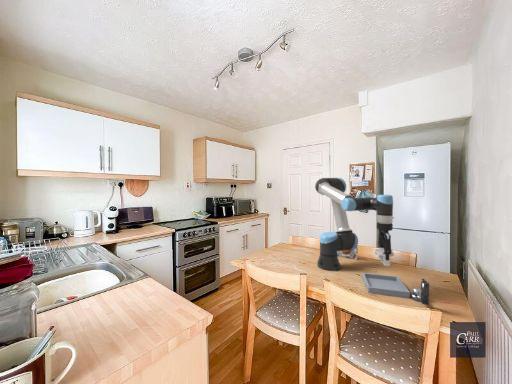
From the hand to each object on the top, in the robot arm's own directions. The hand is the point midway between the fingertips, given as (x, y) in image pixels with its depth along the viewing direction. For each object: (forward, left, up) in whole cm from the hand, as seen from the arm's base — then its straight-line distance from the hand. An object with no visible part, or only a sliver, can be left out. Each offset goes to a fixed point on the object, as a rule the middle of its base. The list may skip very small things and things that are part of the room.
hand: (384, 262), depth 120 cm
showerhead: (0, 0, 0) cm, 0 cm away
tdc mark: (+24, -9, -14) cm, 30 cm away
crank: (+13, -13, -12) cm, 22 cm away
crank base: (+13, -9, -14) cm, 21 cm away
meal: (-15, +43, -14) cm, 48 cm away
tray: (0, 0, -14) cm, 14 cm away
